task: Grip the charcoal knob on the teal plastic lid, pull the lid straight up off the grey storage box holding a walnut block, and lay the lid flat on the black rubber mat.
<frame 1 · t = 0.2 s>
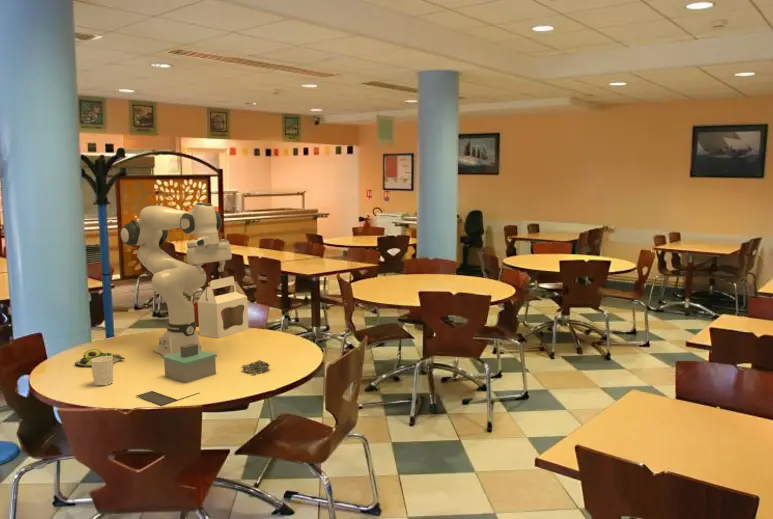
hand: (211, 273, 275), 39 cm above the table, tool pointing down, fingers open, 8 cm apart
rubber mat: (167, 395, 238), on the table
storage box: (190, 377, 259), on the table
lid: (189, 360, 258), point 7 cm above the table, touching storage box
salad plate: (98, 362, 282), on the table
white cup: (103, 384, 252), on the table
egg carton: (255, 372, 265), on the table
gable box: (224, 332, 331), on the table
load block: (190, 375, 259), point 1 cm above the table, touching storage box
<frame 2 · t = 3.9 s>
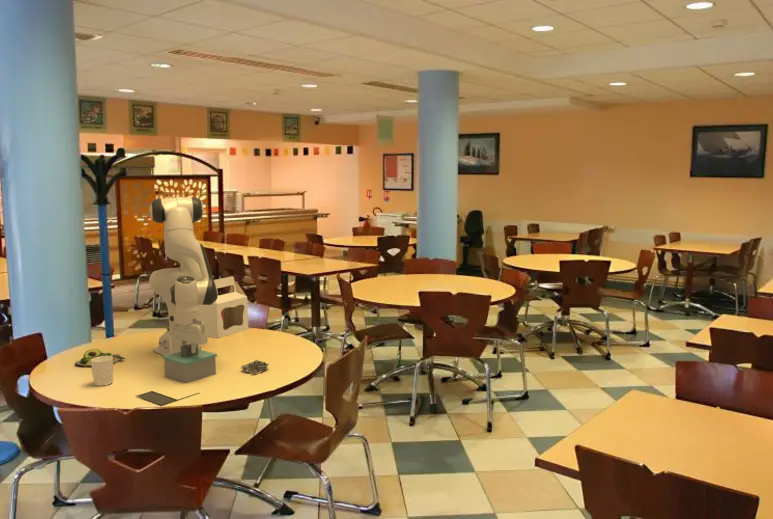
hand: (189, 351, 258), 10 cm above the table, tool pointing down, fingers closed on lid, 3 cm apart
lid: (189, 360, 258), point 7 cm above the table, touching gripper, storage box
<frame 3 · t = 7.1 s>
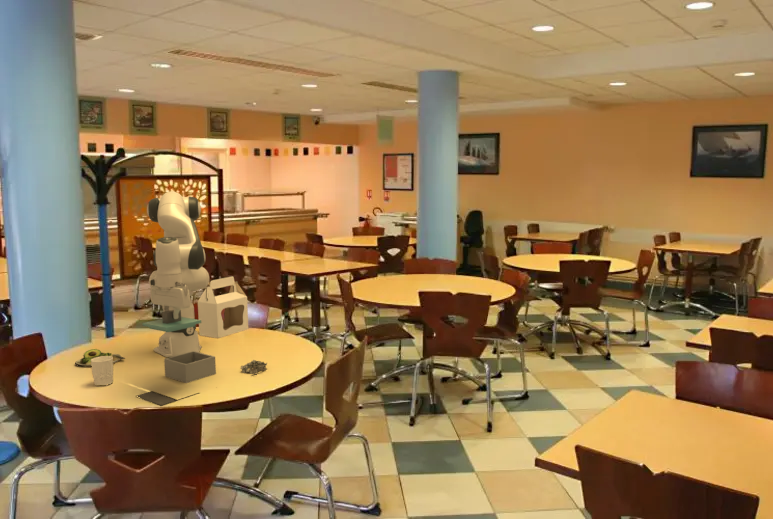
hand: (171, 318, 241), 28 cm above the table, tool pointing down, fingers closed on lid, 3 cm apart
lid: (172, 327, 241), point 24 cm above the table, touching gripper
when the fingers open (6 cm above the table, at t = 10.1 s): lid drops 2 cm, resting on rubber mat.
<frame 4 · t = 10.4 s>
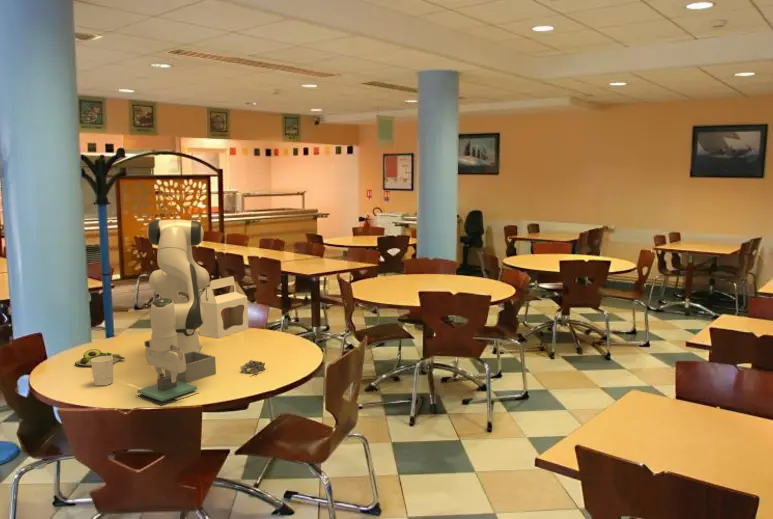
hand: (166, 380, 238), 6 cm above the table, tool pointing down, fingers open, 6 cm apart
lid: (167, 394, 238), resting on rubber mat
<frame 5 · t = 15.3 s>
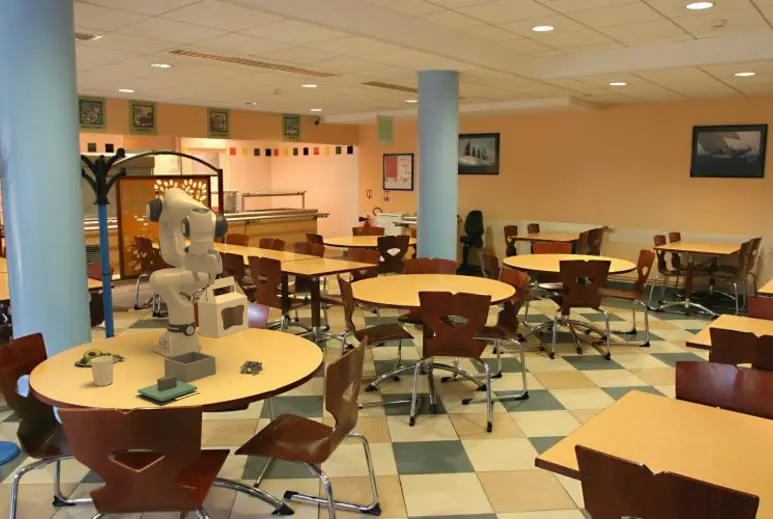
hand: (204, 283, 260), 37 cm above the table, tool pointing down, fingers open, 8 cm apart
at the end: lid inside the target area (0.0 cm from its centre), resting on rubber mat; lid tilted 0°; the gripper is holding nothing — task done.
